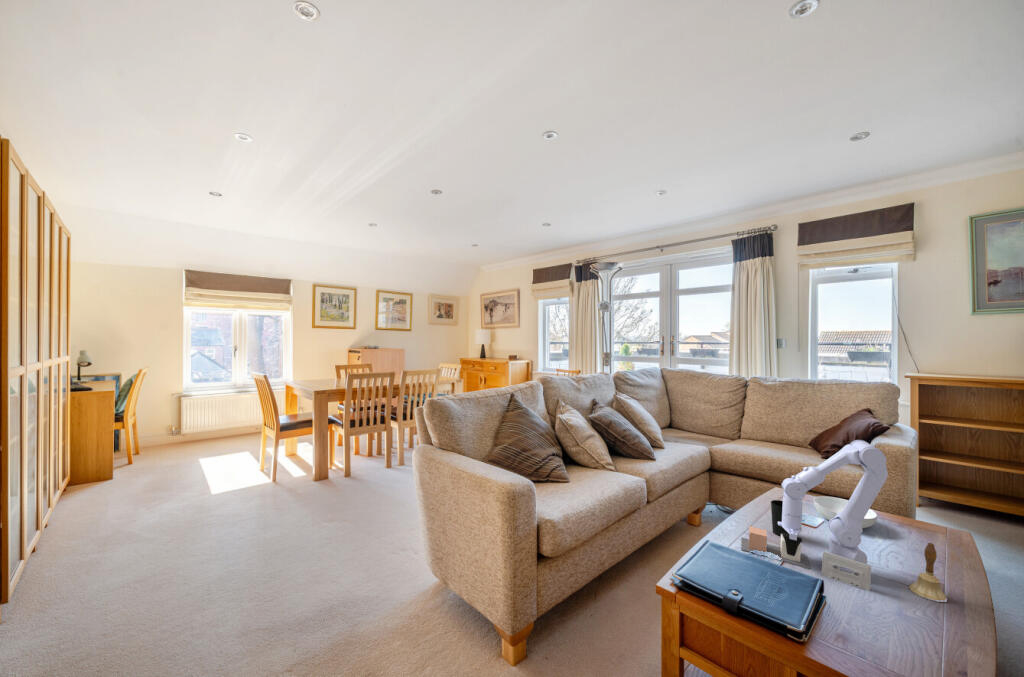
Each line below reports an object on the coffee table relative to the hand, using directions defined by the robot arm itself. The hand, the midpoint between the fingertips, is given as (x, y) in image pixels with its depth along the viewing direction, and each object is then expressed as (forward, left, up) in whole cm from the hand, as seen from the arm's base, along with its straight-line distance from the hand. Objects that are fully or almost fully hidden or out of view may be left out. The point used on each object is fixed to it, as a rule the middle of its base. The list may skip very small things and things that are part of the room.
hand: (790, 550), depth 141 cm
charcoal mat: (+3, +4, -2) cm, 5 cm away
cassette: (-15, -5, -2) cm, 16 cm away
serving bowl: (+17, -49, -2) cm, 52 cm away
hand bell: (-25, -25, -2) cm, 35 cm away
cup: (+14, -12, -2) cm, 19 cm away
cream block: (0, 0, -2) cm, 2 cm away
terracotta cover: (+7, +7, -2) cm, 10 cm away
